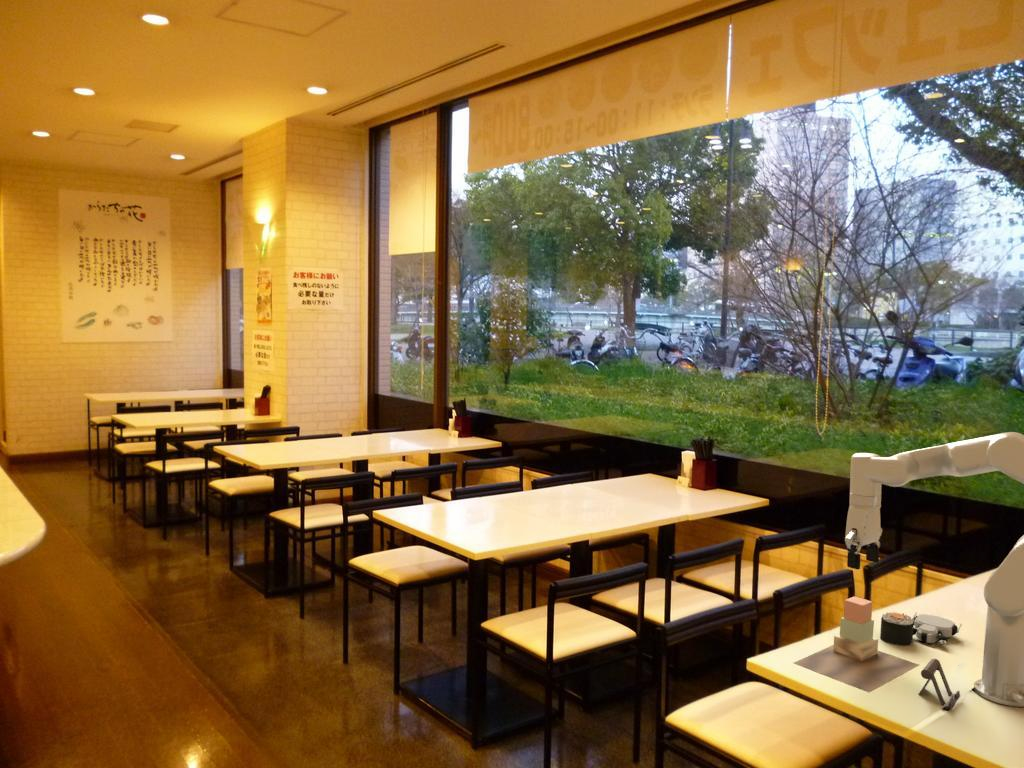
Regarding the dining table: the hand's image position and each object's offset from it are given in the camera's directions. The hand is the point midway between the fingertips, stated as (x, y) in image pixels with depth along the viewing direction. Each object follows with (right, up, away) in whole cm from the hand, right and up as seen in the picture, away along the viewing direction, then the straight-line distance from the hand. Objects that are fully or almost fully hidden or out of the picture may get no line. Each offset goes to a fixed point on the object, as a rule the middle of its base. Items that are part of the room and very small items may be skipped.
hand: (863, 564), depth 212 cm
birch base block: (-1, -24, +2) cm, 24 cm away
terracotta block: (-1, -15, +2) cm, 15 cm away
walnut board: (-4, -25, -5) cm, 26 cm away
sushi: (+14, -25, +12) cm, 31 cm away
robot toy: (+26, -25, +16) cm, 40 cm away
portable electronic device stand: (+8, -27, -22) cm, 36 cm away
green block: (-1, -20, +2) cm, 20 cm away
